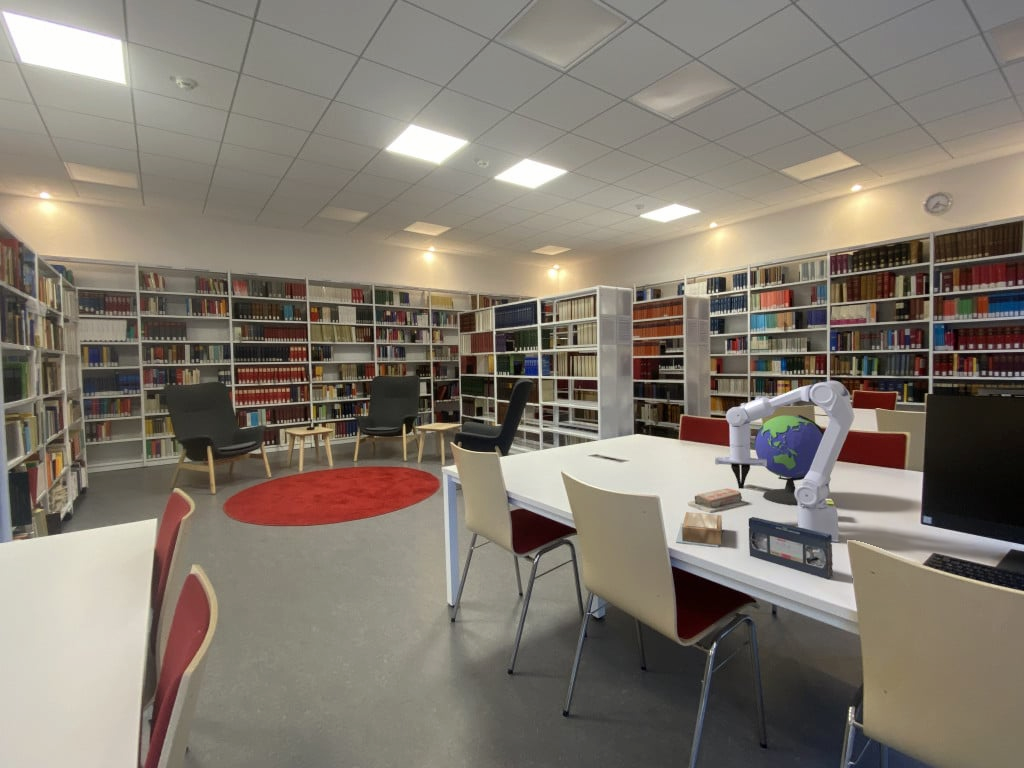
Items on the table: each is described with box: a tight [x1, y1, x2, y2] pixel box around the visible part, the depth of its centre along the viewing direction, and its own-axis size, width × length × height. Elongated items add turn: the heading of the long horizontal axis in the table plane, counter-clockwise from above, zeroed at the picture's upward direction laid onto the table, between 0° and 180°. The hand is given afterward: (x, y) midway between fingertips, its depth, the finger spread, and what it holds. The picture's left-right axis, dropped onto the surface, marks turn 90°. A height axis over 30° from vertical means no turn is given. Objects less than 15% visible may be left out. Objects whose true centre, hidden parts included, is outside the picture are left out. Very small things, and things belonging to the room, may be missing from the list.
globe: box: [753, 414, 825, 507], centre depth 169 cm, size 22×22×30 cm
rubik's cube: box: [825, 498, 835, 506], centre depth 148 cm, size 6×6×6 cm
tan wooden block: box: [682, 511, 723, 546], centre depth 138 cm, size 4×14×10 cm
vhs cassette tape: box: [748, 516, 834, 580], centre depth 116 cm, size 18×3×10 cm, turn 35°
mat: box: [675, 522, 720, 548], centre depth 138 cm, size 11×16×1 cm
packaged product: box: [687, 488, 748, 514], centre depth 166 cm, size 18×5×10 cm
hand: (741, 487), depth 148 cm, fingers closed
